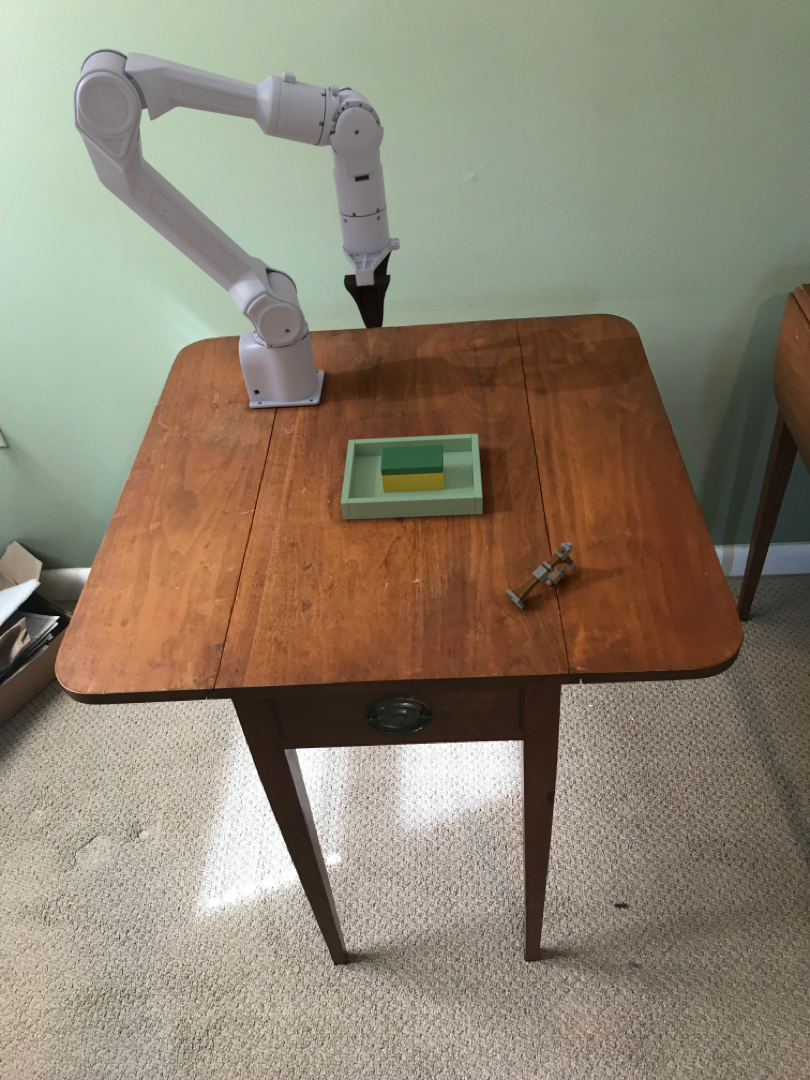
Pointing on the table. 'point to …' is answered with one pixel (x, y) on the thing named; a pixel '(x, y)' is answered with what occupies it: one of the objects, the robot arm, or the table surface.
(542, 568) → the wooden post with brackets
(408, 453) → the sponge
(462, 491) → the pan
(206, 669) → the table surface
